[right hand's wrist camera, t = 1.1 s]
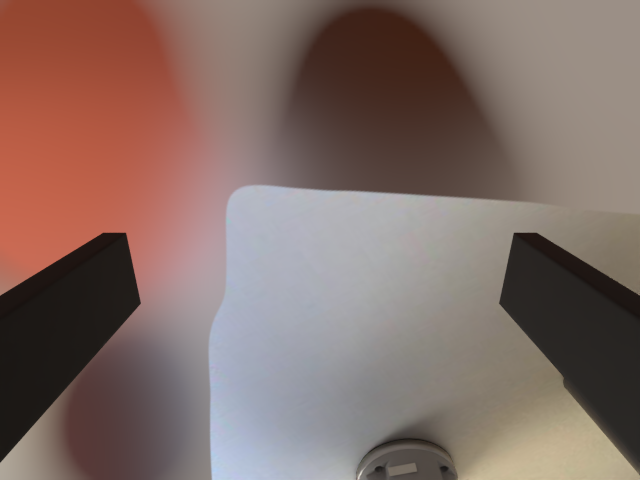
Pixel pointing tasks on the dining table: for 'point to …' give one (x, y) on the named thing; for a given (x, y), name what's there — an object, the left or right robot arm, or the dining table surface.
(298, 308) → the dining table surface
